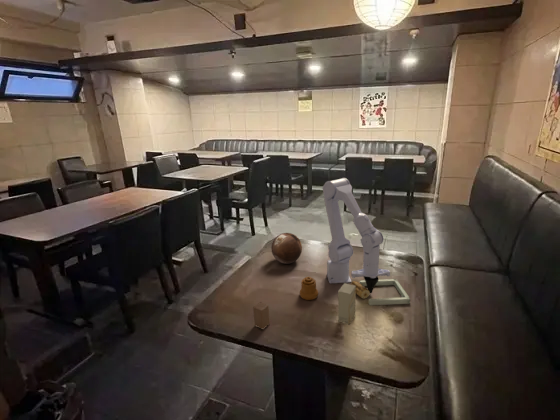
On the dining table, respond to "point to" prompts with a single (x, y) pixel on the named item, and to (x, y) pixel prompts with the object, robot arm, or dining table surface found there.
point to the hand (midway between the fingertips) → (369, 292)
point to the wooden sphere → (286, 248)
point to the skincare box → (346, 303)
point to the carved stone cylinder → (361, 290)
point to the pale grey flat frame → (386, 301)
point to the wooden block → (261, 315)
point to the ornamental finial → (308, 289)
